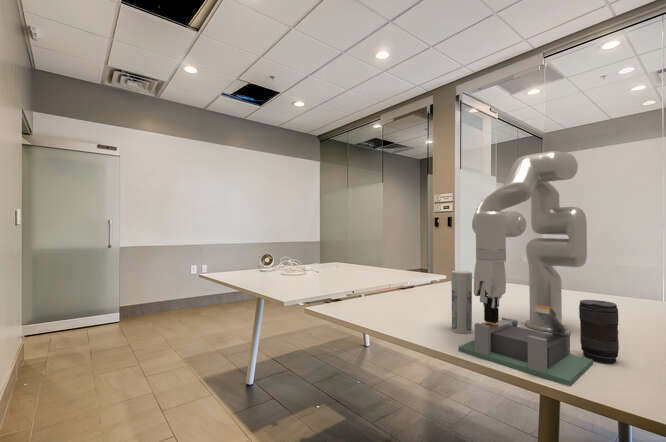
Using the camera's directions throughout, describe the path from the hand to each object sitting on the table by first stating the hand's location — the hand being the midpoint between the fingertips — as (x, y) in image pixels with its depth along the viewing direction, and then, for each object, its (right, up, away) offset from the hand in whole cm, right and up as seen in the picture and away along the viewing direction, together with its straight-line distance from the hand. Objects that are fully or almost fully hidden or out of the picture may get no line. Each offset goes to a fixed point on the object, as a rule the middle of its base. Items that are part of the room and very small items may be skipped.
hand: (491, 321), depth 89 cm
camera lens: (+27, -9, -3) cm, 29 cm away
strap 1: (+3, -2, +2) cm, 4 cm away
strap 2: (+11, +2, -7) cm, 14 cm away
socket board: (+7, -9, -3) cm, 11 cm away
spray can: (0, -10, +19) cm, 22 cm away
